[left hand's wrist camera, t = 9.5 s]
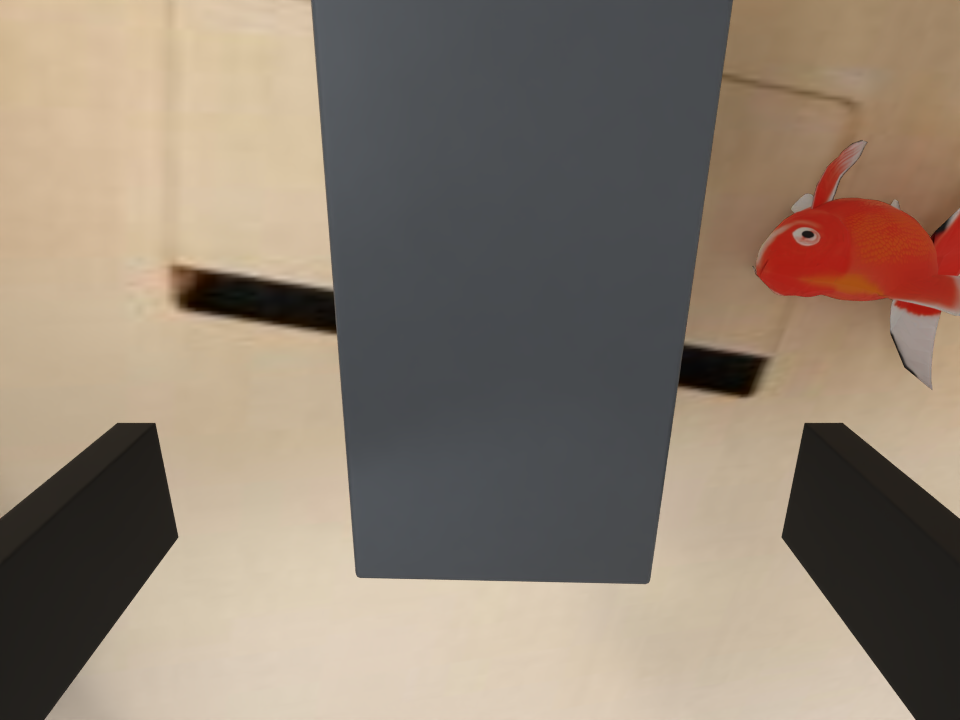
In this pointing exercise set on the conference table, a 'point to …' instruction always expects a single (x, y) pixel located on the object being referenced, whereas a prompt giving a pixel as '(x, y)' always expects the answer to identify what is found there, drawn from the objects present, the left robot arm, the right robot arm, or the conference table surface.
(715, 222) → the conference table surface
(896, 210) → the fish
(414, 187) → the bar
